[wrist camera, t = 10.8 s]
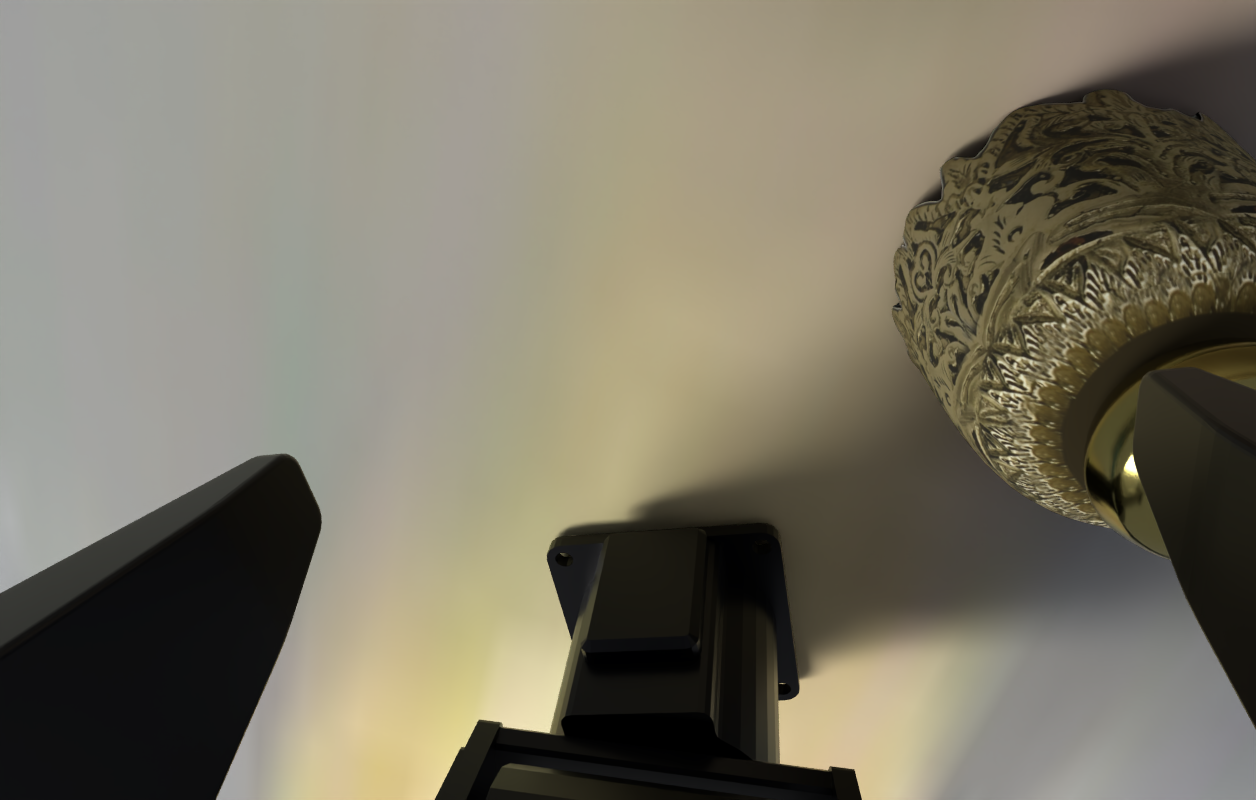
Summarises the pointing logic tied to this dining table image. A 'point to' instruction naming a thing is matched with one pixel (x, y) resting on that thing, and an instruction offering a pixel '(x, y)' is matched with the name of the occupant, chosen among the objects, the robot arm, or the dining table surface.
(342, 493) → the dining table surface
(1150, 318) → the bronze domed piece
